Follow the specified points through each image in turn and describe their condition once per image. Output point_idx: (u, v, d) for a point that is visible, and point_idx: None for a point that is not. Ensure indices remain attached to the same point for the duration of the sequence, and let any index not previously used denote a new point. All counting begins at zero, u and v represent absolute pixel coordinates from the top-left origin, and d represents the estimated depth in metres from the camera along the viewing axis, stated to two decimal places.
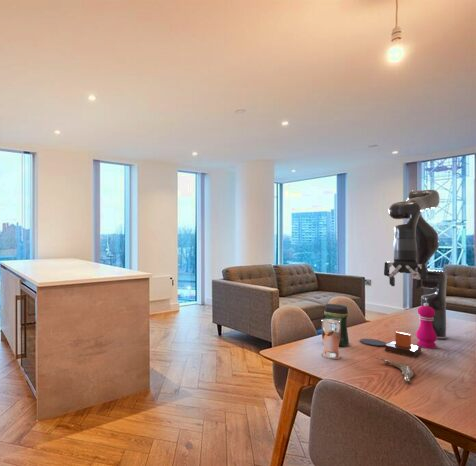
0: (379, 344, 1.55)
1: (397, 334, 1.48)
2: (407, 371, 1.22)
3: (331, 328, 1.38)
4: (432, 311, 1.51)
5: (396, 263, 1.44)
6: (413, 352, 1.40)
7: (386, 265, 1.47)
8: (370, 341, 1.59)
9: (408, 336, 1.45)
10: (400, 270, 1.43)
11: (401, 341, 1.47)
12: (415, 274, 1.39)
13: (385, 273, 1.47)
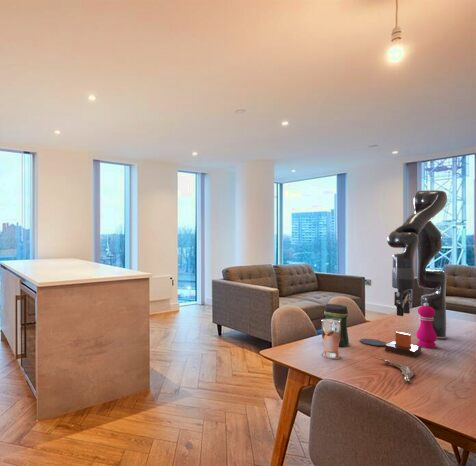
0: (379, 344, 1.55)
1: (397, 334, 1.48)
2: (407, 371, 1.22)
3: (331, 328, 1.38)
4: (432, 311, 1.51)
5: None
6: (413, 352, 1.40)
7: None
8: (370, 341, 1.59)
9: (408, 336, 1.45)
10: None
11: (401, 341, 1.47)
12: None
13: None
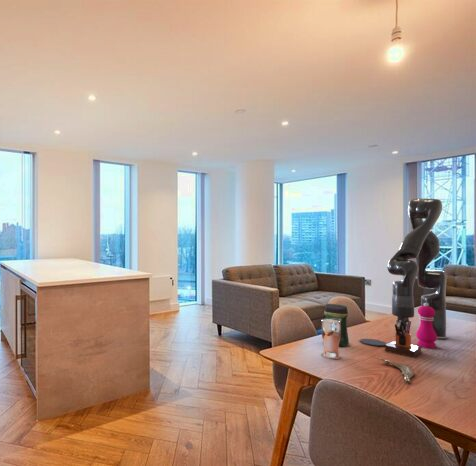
0: (379, 344, 1.55)
1: None
2: (407, 371, 1.22)
3: (331, 328, 1.38)
4: (432, 311, 1.51)
5: None
6: (413, 352, 1.40)
7: None
8: (370, 341, 1.59)
9: (408, 336, 1.45)
10: None
11: None
12: None
13: None
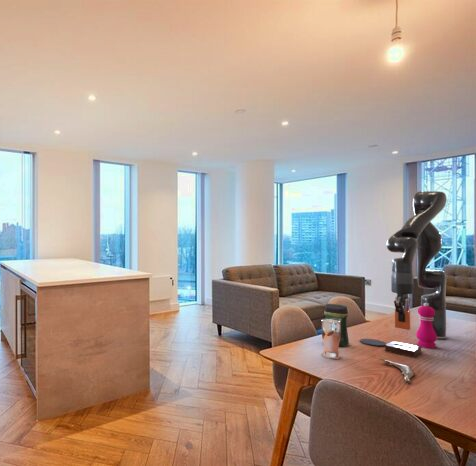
0: (379, 344, 1.55)
1: None
2: (407, 371, 1.22)
3: (331, 328, 1.38)
4: (432, 311, 1.51)
5: None
6: (413, 352, 1.40)
7: None
8: (370, 341, 1.59)
9: (407, 313, 1.45)
10: None
11: None
12: None
13: None
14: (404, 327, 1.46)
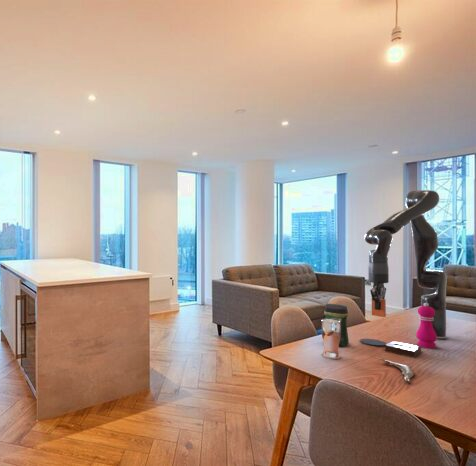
0: (379, 344, 1.55)
1: (373, 300, 1.57)
2: (407, 371, 1.22)
3: (331, 328, 1.38)
4: (432, 311, 1.51)
5: None
6: (413, 352, 1.40)
7: None
8: (370, 341, 1.59)
9: (383, 301, 1.54)
10: None
11: None
12: None
13: None
14: (380, 314, 1.55)
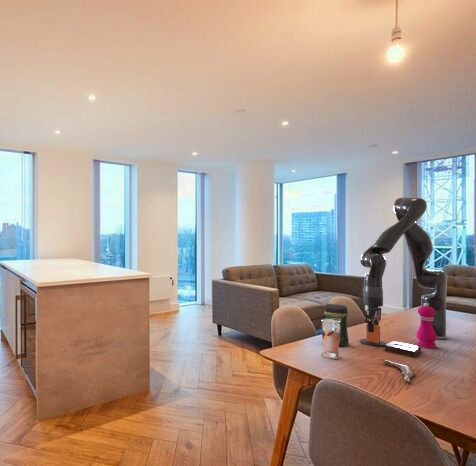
0: (379, 344, 1.55)
1: None
2: (407, 371, 1.22)
3: (331, 328, 1.38)
4: (432, 311, 1.51)
5: None
6: (413, 352, 1.40)
7: None
8: None
9: (377, 327, 1.56)
10: None
11: (371, 333, 1.58)
12: (367, 318, 1.58)
13: None
14: (374, 341, 1.57)
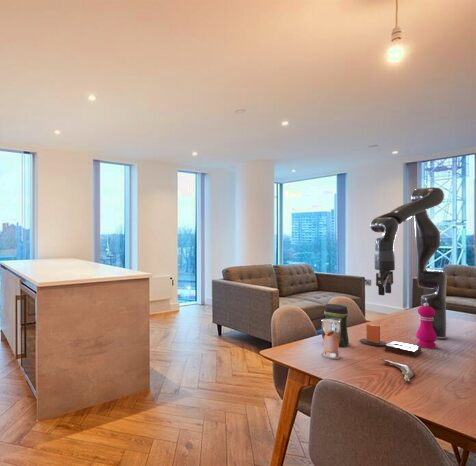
0: (379, 344, 1.55)
1: (368, 326, 1.59)
2: (407, 371, 1.22)
3: (331, 328, 1.38)
4: (432, 311, 1.51)
5: None
6: (413, 352, 1.40)
7: None
8: None
9: (377, 327, 1.56)
10: None
11: (371, 333, 1.58)
12: None
13: None
14: (374, 341, 1.57)
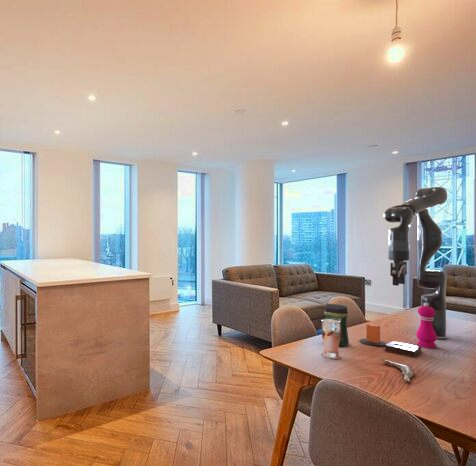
0: (379, 344, 1.55)
1: (368, 326, 1.59)
2: (407, 371, 1.22)
3: (331, 328, 1.38)
4: (432, 311, 1.51)
5: None
6: (413, 352, 1.40)
7: None
8: None
9: (377, 327, 1.56)
10: None
11: (371, 333, 1.58)
12: None
13: None
14: (374, 341, 1.57)
